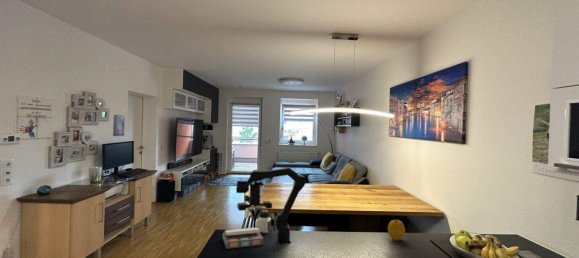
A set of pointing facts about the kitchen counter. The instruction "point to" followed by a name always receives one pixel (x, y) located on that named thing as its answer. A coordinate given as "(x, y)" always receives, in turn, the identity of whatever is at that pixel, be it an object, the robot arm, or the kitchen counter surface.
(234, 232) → the rocker
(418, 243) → the kitchen counter surface
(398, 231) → the yellow oval fruit
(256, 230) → the rocker
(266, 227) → the medicine bottle
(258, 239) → the switch box
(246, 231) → the rocker
